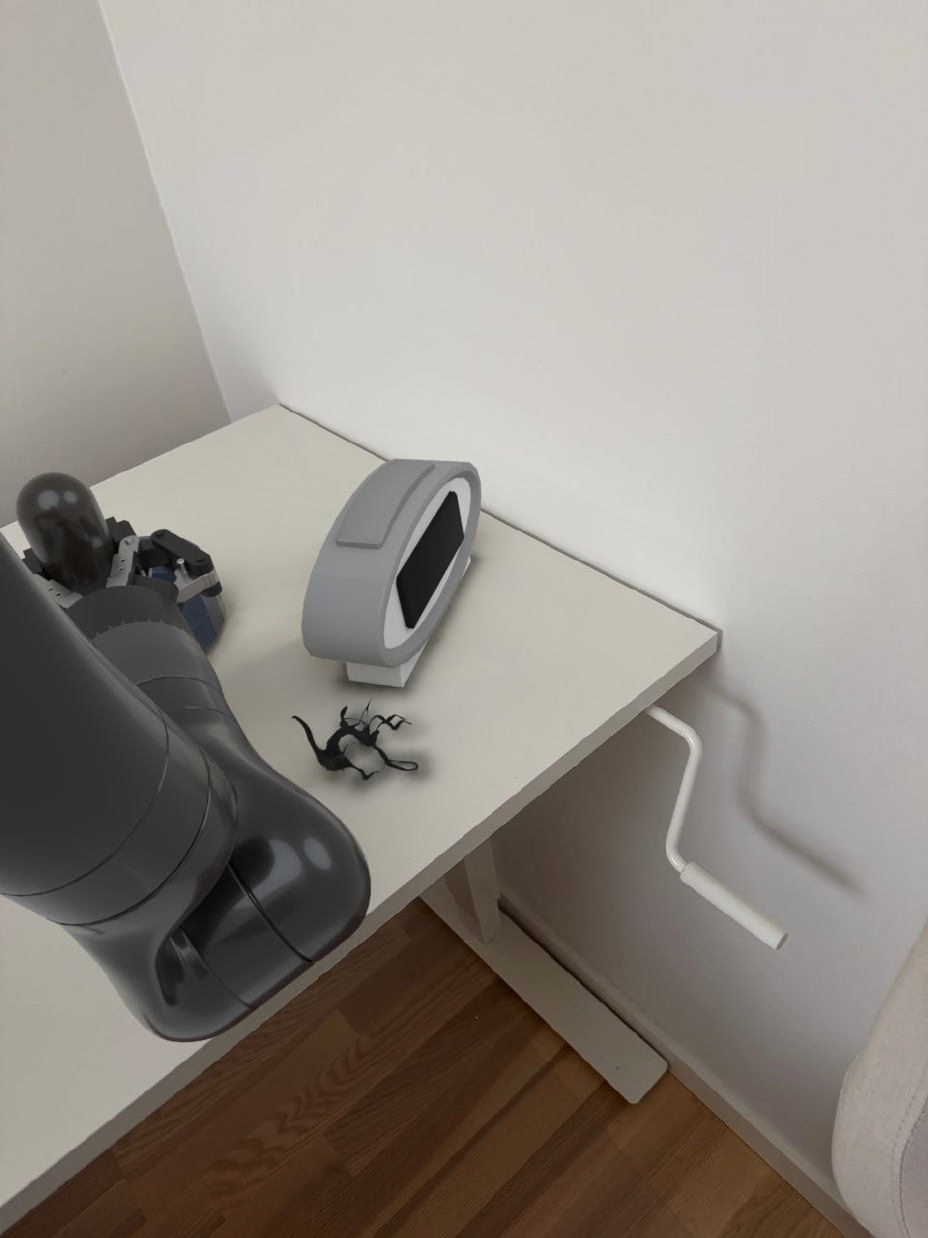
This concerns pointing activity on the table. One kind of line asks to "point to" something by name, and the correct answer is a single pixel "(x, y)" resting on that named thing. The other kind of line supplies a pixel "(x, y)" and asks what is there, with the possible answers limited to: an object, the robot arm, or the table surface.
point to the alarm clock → (391, 567)
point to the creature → (332, 752)
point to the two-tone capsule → (65, 529)
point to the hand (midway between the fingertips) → (74, 545)
